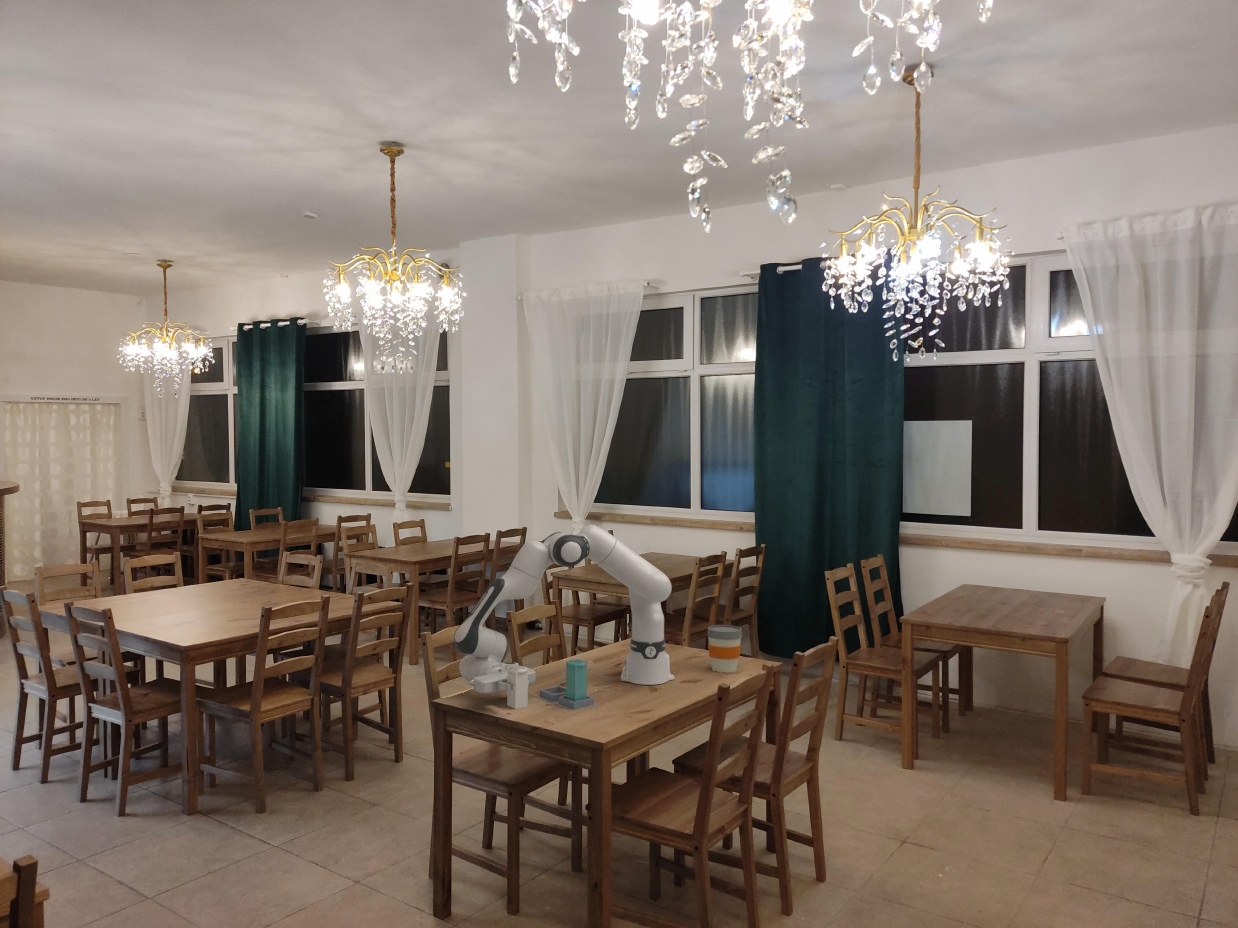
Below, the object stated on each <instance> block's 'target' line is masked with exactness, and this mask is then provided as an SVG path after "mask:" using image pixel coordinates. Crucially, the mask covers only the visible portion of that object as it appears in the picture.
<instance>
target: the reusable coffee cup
mask: <svg viewBox="0 0 1238 928" xmlns="http://www.w3.org/2000/svg"><path fill="white" fill-rule="evenodd" d="M742 632H743V630H742V628H741V627H740V626H736V625H731V624H715V625H710V626H708V628H707V640H708V643H707V647H708V648H707V649H708V656H709V657H710V662H711V663H710V664H711V669H712V671H713V672H716V671H717V672H716V673H722V672H725V673H726V674H727V673H728V674H729V673H735V672H737V670H738V662H739V658H740V655H741V649H742V643H741V642H742V641H741V639H742V638H743V633H742ZM725 673H724V674H725Z"/></svg>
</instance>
